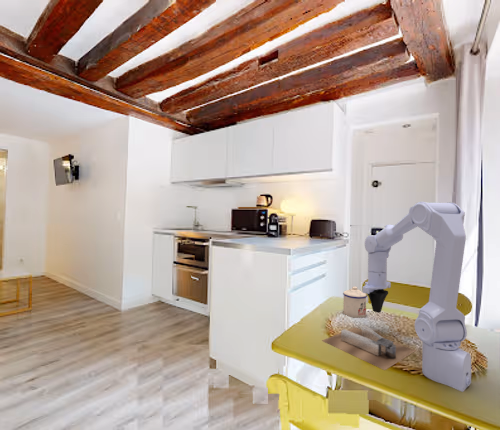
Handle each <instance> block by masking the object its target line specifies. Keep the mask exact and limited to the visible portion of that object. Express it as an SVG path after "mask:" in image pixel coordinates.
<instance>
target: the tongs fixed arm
mask: <svg viewBox="0 0 500 430" xmlns="http://www.w3.org/2000/svg"><path fill="white" fill-rule="evenodd" d="M348 330H349V329H345V328H344V329H342V330H341V332H340V333H341V340H343V341H345V342H347V343H350V344H352V345H354V346H356V347H359V348H361V349H363V350H366V351H368V352H370V353H373V354H375V355H377V356H379V355H381V345H383V346H386V347H390V346H392V345H393V342H394V341H392V340H390V339H387V338H384V337H383V338H381V339H379V340H377V342H376V341H373V340H371V339H368V338H365V337H363V336H360V335H358V334H355V333H353V332H350V331H348Z"/></svg>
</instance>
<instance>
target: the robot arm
mask: <svg viewBox="0 0 500 430" xmlns="http://www.w3.org/2000/svg"><path fill="white" fill-rule="evenodd" d="M465 215H466V212H465V211H464V210H463V209H462V208H461V207H460V206H459V204H456V202H451V201H450V202H426V201H419V202H415V203H414V204H413V206H410V207H409V210H408V213H407V214H406V215H404V217H402V218H401V219H400V220H398V222H397V223H396V224H395V225H394V224H386V225H385V226H384V228H383V229H382V230H380V231H378V232H376V234H375V235H367V236H366V238H365V240H364V249H365V250H366V252H367V254H368V255H367V257H368V259H367V281H365V282H364V286H362V292H363V293H366V295H367V297H368V298H369V301H370V304H371V308H372V312H375V313H380V314H381V312H382V310H383V305H384V302H385V300H386V298H387V296H388V294H389V291H388V290H386V289H390V288H391V285H392V284H391V283H392V282H390V281H387V275H388V274H387V273H388V271H387V270H388V269H387V268H388V262H387V261H388V258H389V256H390V255H389V254H390V252H391V249H392V247H393V246H395V245H396V244H398V243H399V242H401V241H402V240H403V238H404V235H406V234H407V233H408V232H410V231H412V230H414V229H416V228H420V230H422V231H423V232H425V233H426V234H428V235H429V236H430V237H432V238H433V239H434V240H435V247H434V248H435V249H434V250H435V251H434V258H433V266H432V272H431V273H432V275H431V281H430V289H429V290H430V291H429V298H428V302H426V304H425V305H423V306H422V307H421V308H420V309H419V310H418V316H417V318H415V321H414V330H415V332H416V333H415V334H417V337H418V338H419V340H420V341H421V342H422V347H421V348H422V349H421V350H422V353H421V355H422V356H421V357H422V359H421V361H422V362H421V363H422V364H421V370H422V371H421V372H422V374H423V375H424V376H425V377H426V378H427V379H429V380H432V381H434V382H436V383H439V384H442V385H445V386H448V387H450V388H452V389H455V390H457V391H458V392H459V391H460V392H461V393H463V392H464V391H465V390H466V389H467V388H468V387H469V386H470V385H471V383H472V357H471V354H470V353H469V351H468V352H467V351H465V350H463V349H461V348H460V347H461V345H462V344H461V342H463V341H465V340H466V338H467V335H468V333H467V332H468V331H467V326H466V322H465V321H466V316H465V314H464V313H463V312H462V311H460V309H458V307H457V304H458V297H459V292H460V291H459V290H460V283H461V275H462V270H463V269H462V268H463V261H464V255H465V246H466V240H467V238H466V237H467V236H466V230H465V228H464V227H465V226H464V222H465Z"/></svg>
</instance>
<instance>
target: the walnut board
mask: <svg viewBox="0 0 500 430" xmlns="http://www.w3.org/2000/svg"><path fill="white" fill-rule="evenodd" d="M347 330H348V331H350V332H353V333H355V334H358V335H360V336H363V335H362V329H360V328H357V327H353V328H350V329H347ZM363 337H364V336H363ZM321 341H322V342H323V343H325V344H328V345H329V346H332V347H334V348H336V349H338V350H340V351H343V352H344V353H347V354H349V355H351V356H353V357H355V358H358V359H359V360H362V361H364V362H366V363H368V364H370V365H373V366H374V367H377V368H379V369H381V370H383V371H387V370H388V369H390V368H391V367H392V366H394V365H395V364H397V363H399V362H401V361H403V360H404V359H405V358H408V357H409V356H410V355H411V354H413V353H415V352H416V351H417V350H415V349H413V348H410V347H408V346H405V345H402V344H399V343H397V342H394V341H393V344H394V345H395V346H396V358H394V359H392V358H388V357H386V356H385V353H383V352H382V351H381V355H379V356H377V355H375V354H373V353H370V352H368V351H366V350H363V349H361V348H359V347H356V346H354V345H352V344H350V343H347V342H345V341H343V340H341V332H340V333H337V334H335V335H333V336H329V337H327V338H325V339H323V340H321Z"/></svg>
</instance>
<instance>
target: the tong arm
mask: <svg viewBox="0 0 500 430" xmlns="http://www.w3.org/2000/svg"><path fill="white" fill-rule="evenodd" d="M361 330H362V335H363V336H364V337H365V338H368V339H371V340H373V341H376V342H377V340H379V339H381V338H384V337H383V336H382V335H380V334H378V333H377V332H376V331H374V330H373V329H372V328H371V327H369V326H368V325H365V324H364V325H363V324H362V325H361ZM381 351H382V352H383V353H385V356H386V357H388V358H392V359H394V358H396V346H395V345H394V344H393V345H392V346H390V347H386V346H383V345H381Z"/></svg>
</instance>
